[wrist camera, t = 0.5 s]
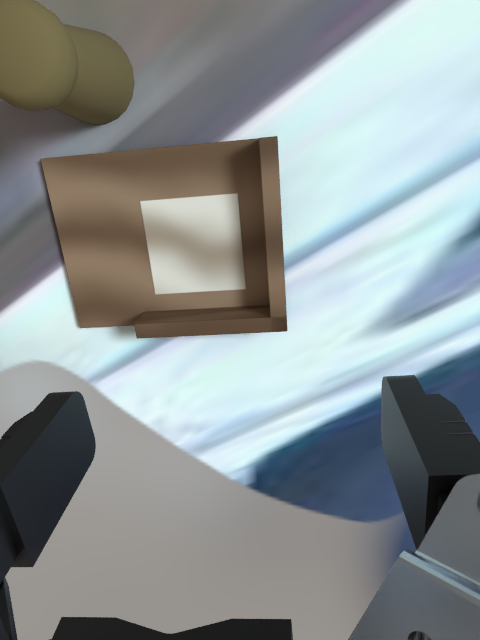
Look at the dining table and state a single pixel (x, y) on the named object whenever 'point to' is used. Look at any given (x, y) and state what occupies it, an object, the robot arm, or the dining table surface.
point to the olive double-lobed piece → (61, 65)
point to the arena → (173, 237)
